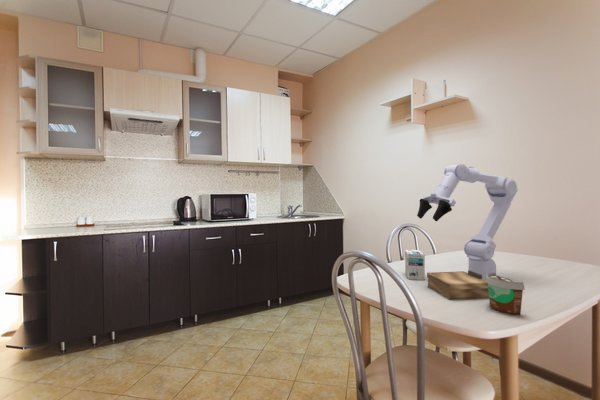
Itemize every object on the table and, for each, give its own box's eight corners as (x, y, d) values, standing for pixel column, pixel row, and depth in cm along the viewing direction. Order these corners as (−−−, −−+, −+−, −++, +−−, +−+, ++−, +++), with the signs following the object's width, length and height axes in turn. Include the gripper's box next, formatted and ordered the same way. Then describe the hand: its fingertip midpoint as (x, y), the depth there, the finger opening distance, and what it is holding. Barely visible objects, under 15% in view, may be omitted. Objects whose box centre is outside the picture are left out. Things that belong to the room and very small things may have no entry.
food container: (476, 302, 101) (476, 272, 101) (494, 302, 101) (494, 271, 101) (504, 318, 88) (504, 283, 88) (524, 317, 89) (524, 282, 89)
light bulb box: (425, 280, 127) (425, 254, 127) (408, 279, 128) (408, 253, 128) (420, 273, 137) (420, 249, 137) (404, 273, 139) (404, 249, 139)
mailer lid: (463, 275, 120) (463, 267, 120) (492, 287, 105) (492, 278, 105) (426, 277, 118) (427, 268, 118) (450, 289, 103) (450, 279, 103)
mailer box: (464, 285, 119) (464, 274, 119) (490, 297, 105) (490, 284, 105) (427, 287, 118) (427, 275, 118) (449, 299, 104) (449, 286, 104)
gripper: (424, 183, 125) (406, 210, 122) (454, 184, 111) (436, 214, 109) (433, 194, 127) (416, 220, 125) (465, 196, 114) (446, 225, 111)
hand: (426, 218), depth 117 cm, fingers open, 7 cm apart
